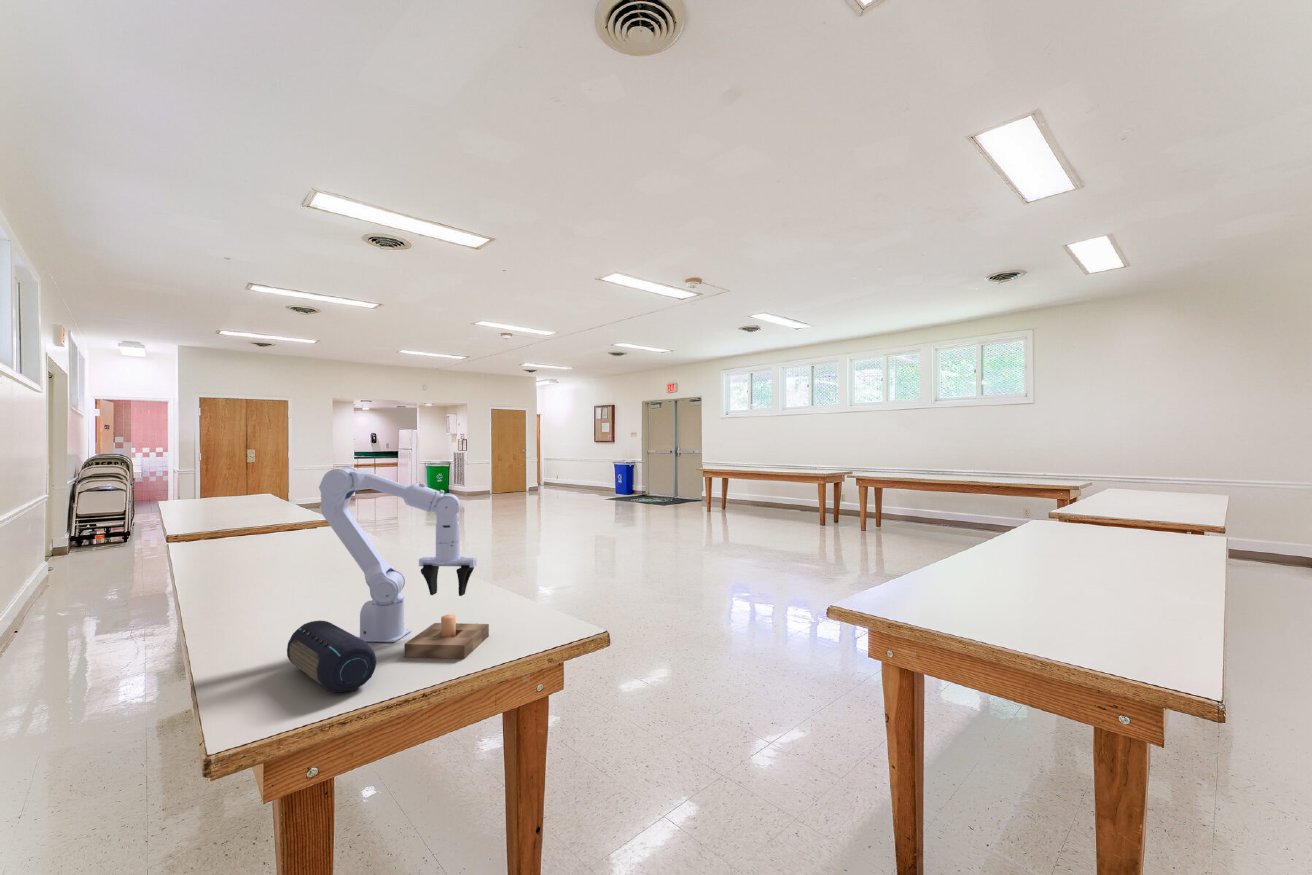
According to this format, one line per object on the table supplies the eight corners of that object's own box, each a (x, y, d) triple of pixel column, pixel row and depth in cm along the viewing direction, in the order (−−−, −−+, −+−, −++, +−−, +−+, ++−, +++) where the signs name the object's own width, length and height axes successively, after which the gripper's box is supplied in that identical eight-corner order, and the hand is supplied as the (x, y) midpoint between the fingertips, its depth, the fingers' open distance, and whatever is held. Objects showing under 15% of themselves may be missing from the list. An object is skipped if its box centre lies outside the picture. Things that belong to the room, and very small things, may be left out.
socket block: (404, 657, 121) (404, 643, 121) (434, 634, 135) (434, 622, 135) (464, 658, 120) (464, 645, 120) (488, 635, 134) (488, 623, 134)
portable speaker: (280, 670, 114) (280, 623, 115) (332, 655, 122) (332, 611, 122) (326, 706, 99) (326, 652, 99) (382, 686, 106) (382, 636, 107)
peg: (438, 648, 126) (438, 618, 126) (445, 643, 129) (445, 614, 129) (451, 649, 125) (451, 619, 125) (458, 643, 128) (458, 614, 129)
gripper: (412, 543, 134) (412, 598, 134) (467, 544, 133) (467, 599, 133) (426, 538, 141) (426, 590, 141) (479, 539, 140) (480, 591, 140)
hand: (447, 594), depth 137 cm, fingers open, 7 cm apart
